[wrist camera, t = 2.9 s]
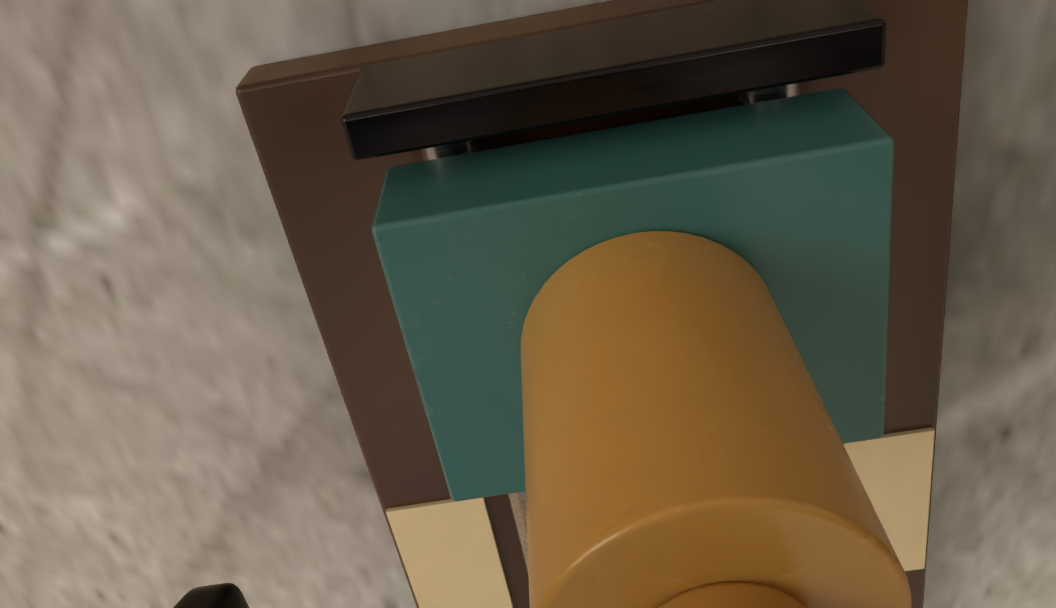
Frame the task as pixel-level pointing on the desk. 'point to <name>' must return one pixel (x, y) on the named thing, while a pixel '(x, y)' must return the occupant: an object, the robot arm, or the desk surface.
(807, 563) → the teal slider with knob
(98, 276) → the desk surface
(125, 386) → the desk surface
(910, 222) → the rail
